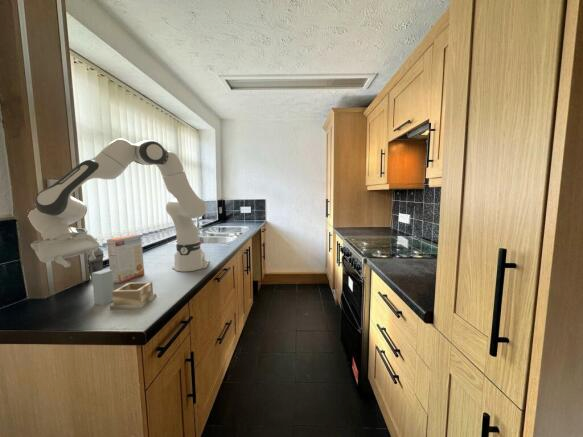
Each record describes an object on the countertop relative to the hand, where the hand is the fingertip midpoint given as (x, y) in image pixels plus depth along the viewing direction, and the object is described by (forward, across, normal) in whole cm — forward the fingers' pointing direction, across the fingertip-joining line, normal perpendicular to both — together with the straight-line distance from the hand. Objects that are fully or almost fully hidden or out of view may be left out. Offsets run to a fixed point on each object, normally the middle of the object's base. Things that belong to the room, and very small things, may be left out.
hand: (81, 262), depth 100 cm
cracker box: (+7, +25, +15) cm, 30 cm away
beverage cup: (-5, +22, +27) cm, 35 cm away
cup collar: (+26, +2, -5) cm, 27 cm away
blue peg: (+18, 0, +4) cm, 18 cm away
